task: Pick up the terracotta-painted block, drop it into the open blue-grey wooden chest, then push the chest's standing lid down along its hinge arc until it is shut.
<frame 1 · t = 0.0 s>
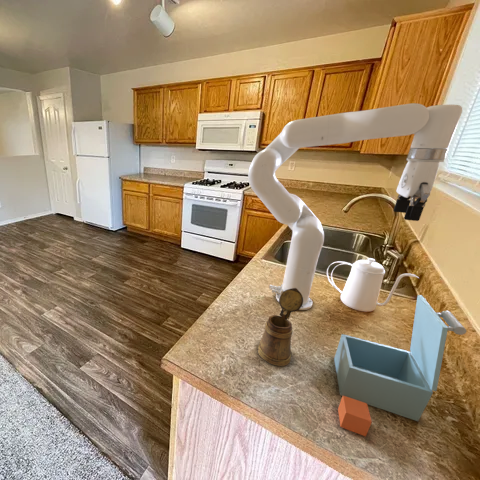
hand: (405, 215, 78), 37 cm above the counter, tool pointing down, fingers open, 9 cm apart
chest: (370, 386, 66), on the counter
lid: (439, 341, 57), point 17 cm above the counter, hinge at 80.0°
coffeepot: (358, 305, 99), on the counter
wooden mug: (276, 349, 78), on the counter
block: (351, 422, 58), on the counter
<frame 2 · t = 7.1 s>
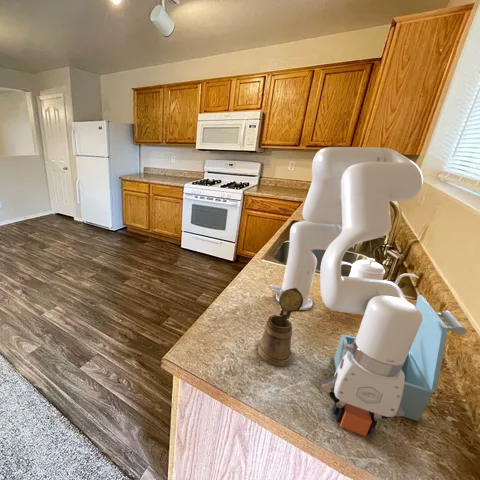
hand: (351, 421, 58), 0 cm above the counter, tool pointing down, fingers closed on block, 4 cm apart
block: (351, 422, 58), on the counter, touching gripper
everything else where it was.
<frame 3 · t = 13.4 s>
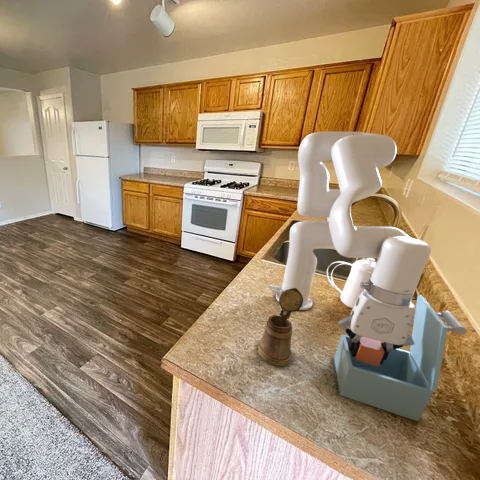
hand: (365, 355, 65), 8 cm above the counter, tool pointing down, fingers closed on block, 4 cm apart
block: (365, 357, 65), point 8 cm above the counter, touching gripper
everything else where it was.
when the fingers open (11 cm above the counter, at t = 25.8 s): block drops 10 cm, resting on chest.
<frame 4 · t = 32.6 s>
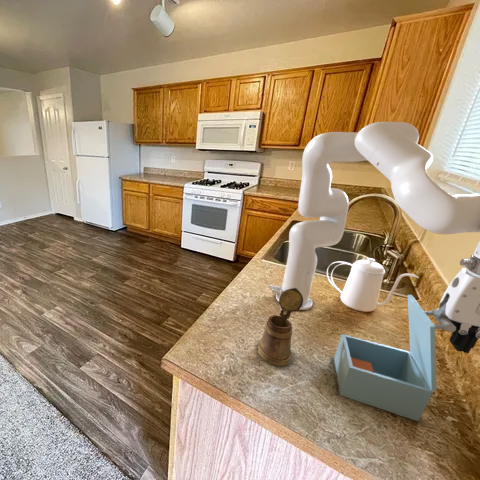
hand: (458, 347, 56), 17 cm above the counter, tool pointing down, fingers closed
lid: (433, 340, 57), point 17 cm above the counter, hinge at 73.4°, touching gripper
block: (357, 379, 67), point 1 cm above the counter, touching chest
everything else where it was.
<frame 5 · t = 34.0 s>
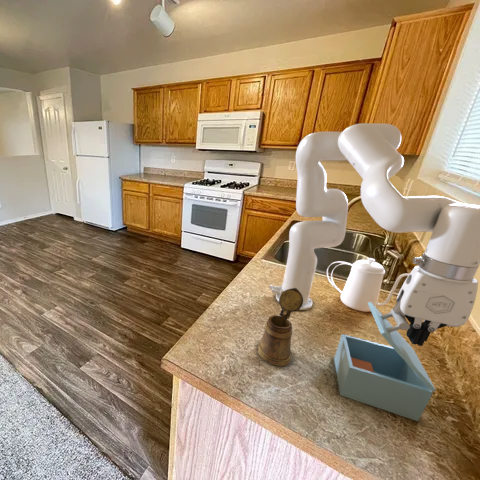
hand: (414, 340, 59), 16 cm above the counter, tool pointing down, fingers closed
lid: (408, 339, 59), point 16 cm above the counter, hinge at 43.5°, touching gripper
everything else where it was.
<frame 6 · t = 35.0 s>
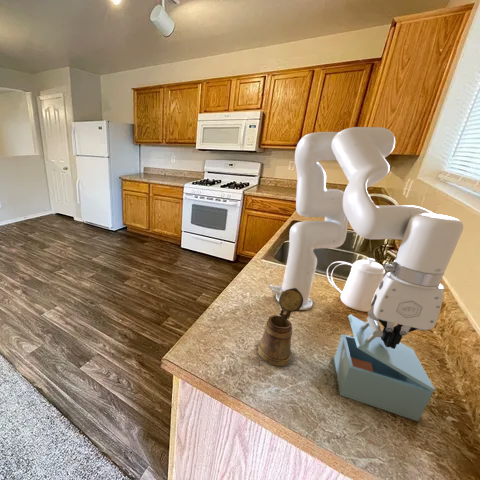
hand: (388, 343, 61), 14 cm above the counter, tool pointing down, fingers closed
lid: (393, 343, 61), point 14 cm above the counter, hinge at 21.7°, touching gripper
everything else where it was.
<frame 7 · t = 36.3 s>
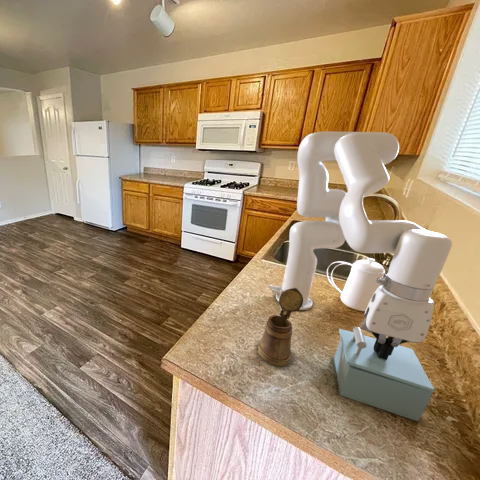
hand: (380, 354, 63), 10 cm above the counter, tool pointing down, fingers closed
lid: (383, 349, 62), point 12 cm above the counter, hinge at 2.4°, touching gripper
everything else where it was.
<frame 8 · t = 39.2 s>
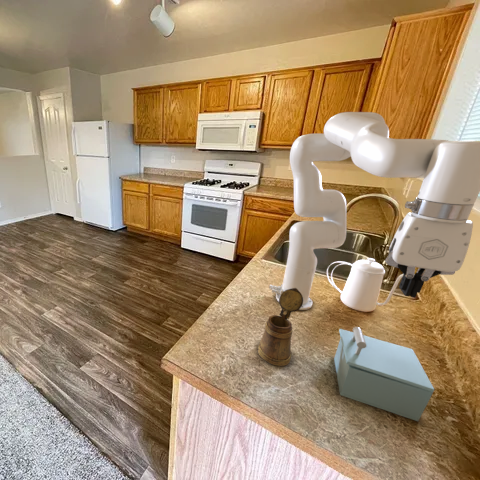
hand: (407, 293, 56), 27 cm above the counter, tool pointing down, fingers closed
lid: (383, 349, 62), point 12 cm above the counter, hinge at 2.3°
everything else where it was.
at the end: block inside the target area in the chest (3.0 cm from its centre), point 0.8 cm above the chest's base; lid at +2° (first picture: +80°) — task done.
